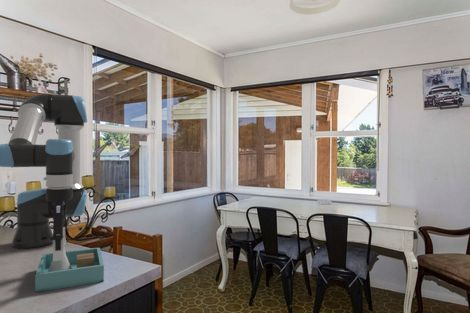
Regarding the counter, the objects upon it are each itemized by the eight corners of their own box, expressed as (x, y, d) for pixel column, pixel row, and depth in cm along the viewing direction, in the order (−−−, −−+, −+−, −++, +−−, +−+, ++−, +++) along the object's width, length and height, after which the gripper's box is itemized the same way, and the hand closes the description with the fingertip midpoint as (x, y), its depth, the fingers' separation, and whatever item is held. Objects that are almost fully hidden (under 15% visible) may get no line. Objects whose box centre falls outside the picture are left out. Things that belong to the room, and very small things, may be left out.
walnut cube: (77, 269, 105) (77, 254, 105) (93, 267, 108) (93, 252, 108) (76, 275, 101) (76, 259, 101) (93, 272, 103) (94, 257, 103)
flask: (41, 278, 98) (41, 246, 98) (58, 269, 105) (58, 239, 105) (61, 280, 97) (61, 247, 97) (77, 271, 104) (77, 241, 104)
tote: (42, 268, 108) (42, 254, 108) (99, 261, 116) (99, 247, 116) (35, 292, 90) (35, 275, 90) (103, 281, 98) (103, 265, 98)
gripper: (49, 183, 110) (49, 243, 111) (41, 194, 88) (41, 269, 89) (73, 182, 114) (73, 240, 114) (71, 192, 91) (71, 265, 92)
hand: (59, 253), depth 102 cm, fingers open, 13 cm apart
